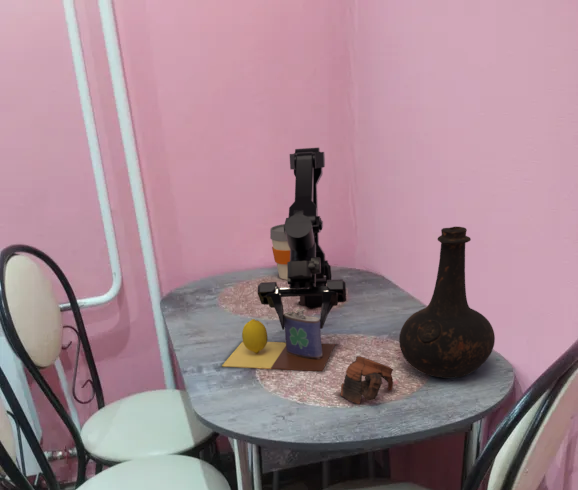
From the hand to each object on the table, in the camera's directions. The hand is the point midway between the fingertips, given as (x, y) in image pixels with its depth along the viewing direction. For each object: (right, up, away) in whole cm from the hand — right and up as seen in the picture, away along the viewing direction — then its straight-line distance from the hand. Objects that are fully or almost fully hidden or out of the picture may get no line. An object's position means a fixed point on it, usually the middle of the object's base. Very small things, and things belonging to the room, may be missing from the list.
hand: (301, 328), depth 127 cm
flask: (+1, -6, +4) cm, 7 cm away
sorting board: (-5, -6, +6) cm, 9 cm away
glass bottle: (+29, -9, -6) cm, 31 cm away
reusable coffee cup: (-1, +22, +62) cm, 66 cm away
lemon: (-10, -5, +7) cm, 13 cm away
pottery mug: (+12, -14, -14) cm, 23 cm away
